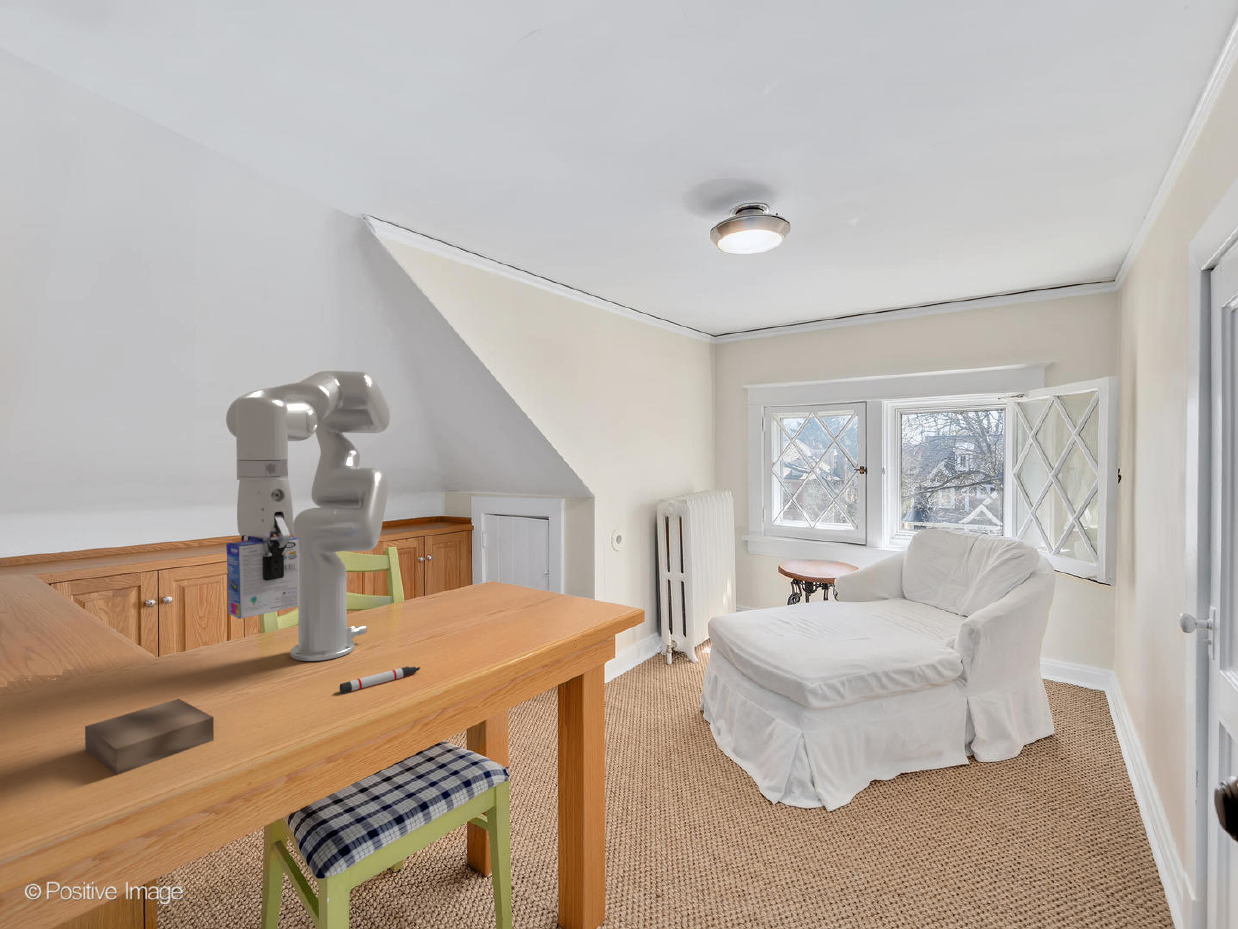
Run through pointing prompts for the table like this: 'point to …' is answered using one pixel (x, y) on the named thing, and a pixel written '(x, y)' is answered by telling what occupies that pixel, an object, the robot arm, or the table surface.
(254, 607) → the ink cartridge box
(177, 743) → the walnut block
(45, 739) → the table surface
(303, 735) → the table surface
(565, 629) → the table surface
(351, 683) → the marker
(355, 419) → the robot arm
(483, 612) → the table surface
